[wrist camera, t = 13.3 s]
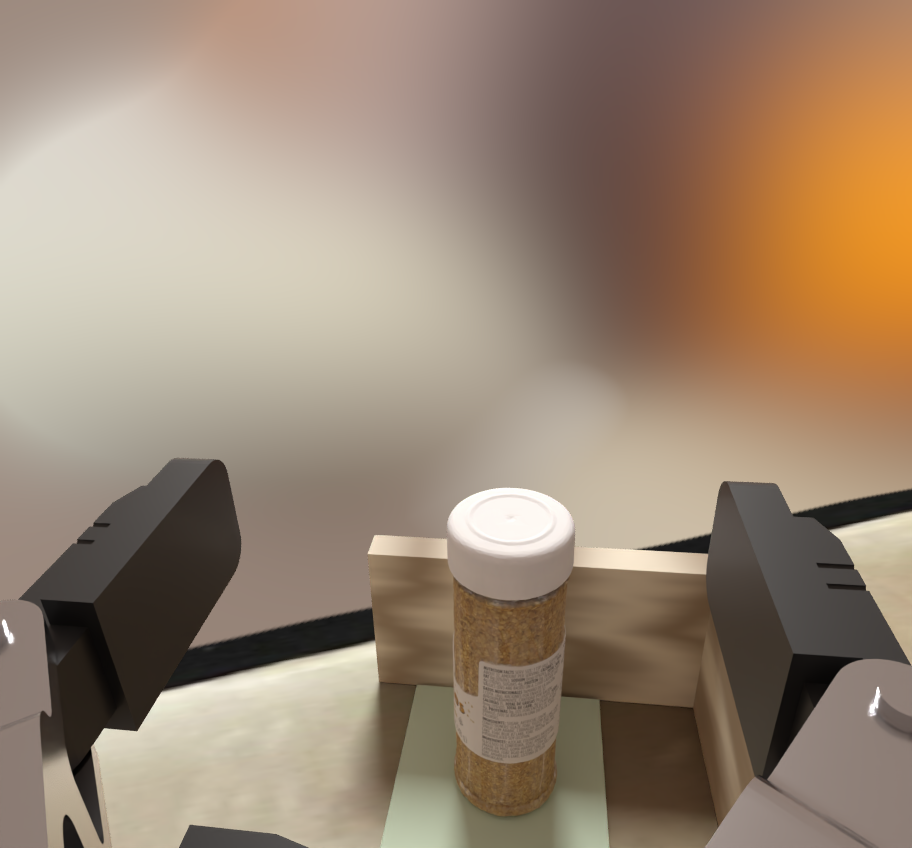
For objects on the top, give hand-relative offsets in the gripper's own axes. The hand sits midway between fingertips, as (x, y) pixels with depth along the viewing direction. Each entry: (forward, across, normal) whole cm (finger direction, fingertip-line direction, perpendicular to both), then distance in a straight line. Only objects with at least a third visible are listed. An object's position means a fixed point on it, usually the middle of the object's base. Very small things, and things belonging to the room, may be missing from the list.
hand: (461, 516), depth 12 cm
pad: (+11, 0, +22) cm, 24 cm away
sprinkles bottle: (+11, 0, +22) cm, 24 cm away
